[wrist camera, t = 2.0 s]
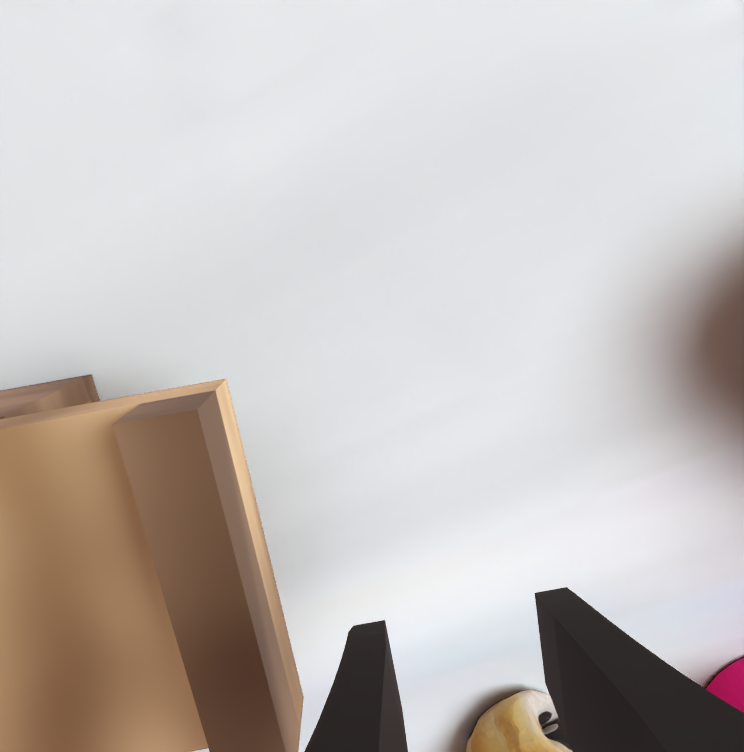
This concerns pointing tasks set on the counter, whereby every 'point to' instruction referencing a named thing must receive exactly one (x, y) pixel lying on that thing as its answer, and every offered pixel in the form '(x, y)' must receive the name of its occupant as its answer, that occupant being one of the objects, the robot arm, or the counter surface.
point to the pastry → (520, 726)
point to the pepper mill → (730, 685)
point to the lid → (139, 583)
